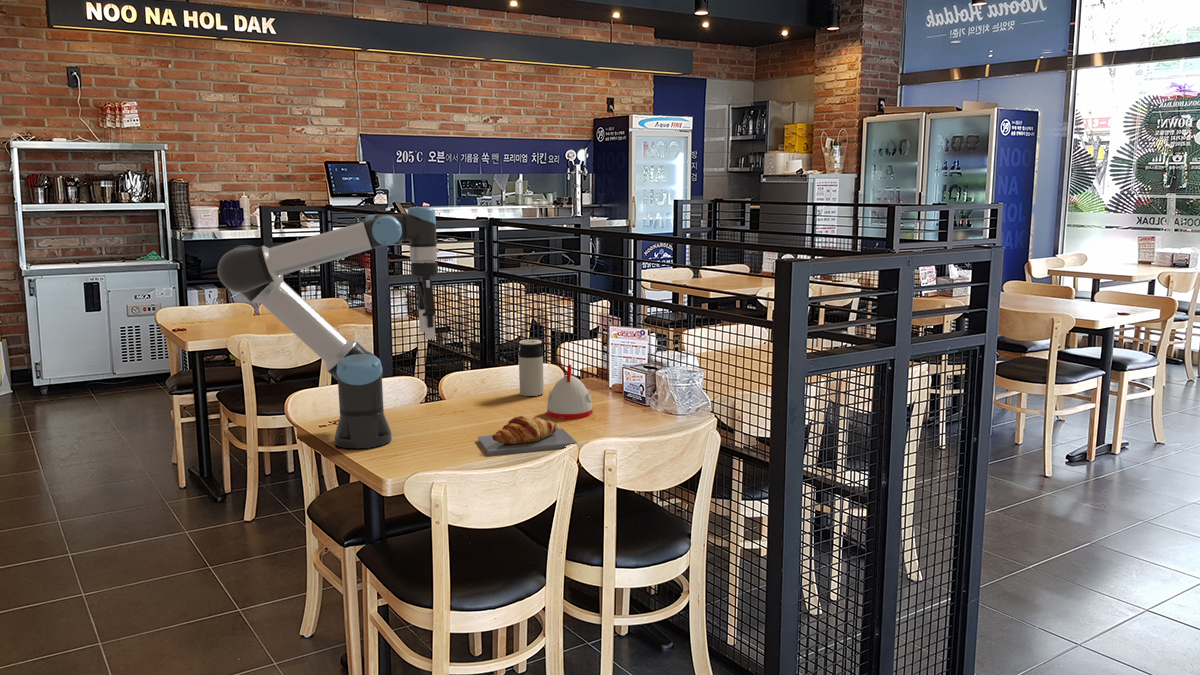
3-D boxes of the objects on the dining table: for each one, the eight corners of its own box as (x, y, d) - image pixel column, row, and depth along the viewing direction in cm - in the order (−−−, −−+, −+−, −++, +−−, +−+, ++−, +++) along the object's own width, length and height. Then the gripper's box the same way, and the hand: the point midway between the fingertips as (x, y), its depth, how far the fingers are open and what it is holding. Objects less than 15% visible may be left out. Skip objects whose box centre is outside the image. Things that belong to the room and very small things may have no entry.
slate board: (488, 456, 237) (488, 451, 236) (478, 441, 251) (477, 436, 250) (577, 447, 244) (577, 442, 244) (562, 433, 258) (562, 428, 258)
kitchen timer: (593, 408, 286) (592, 361, 284) (591, 419, 272) (591, 370, 270) (549, 408, 287) (548, 361, 284) (545, 419, 273) (544, 370, 270)
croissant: (551, 442, 256) (543, 415, 258) (571, 431, 249) (563, 404, 251) (488, 455, 243) (480, 426, 245) (507, 445, 235) (498, 415, 237)
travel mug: (534, 398, 300) (532, 344, 297) (515, 395, 304) (513, 342, 301) (548, 393, 306) (547, 340, 303) (529, 390, 311) (528, 338, 308)
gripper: (443, 264, 249) (446, 340, 253) (431, 257, 273) (434, 327, 276) (415, 265, 247) (419, 342, 251) (406, 258, 271) (409, 329, 274)
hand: (427, 335), depth 263 cm, fingers open, 13 cm apart
